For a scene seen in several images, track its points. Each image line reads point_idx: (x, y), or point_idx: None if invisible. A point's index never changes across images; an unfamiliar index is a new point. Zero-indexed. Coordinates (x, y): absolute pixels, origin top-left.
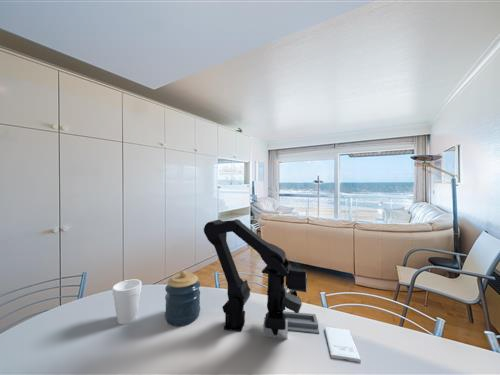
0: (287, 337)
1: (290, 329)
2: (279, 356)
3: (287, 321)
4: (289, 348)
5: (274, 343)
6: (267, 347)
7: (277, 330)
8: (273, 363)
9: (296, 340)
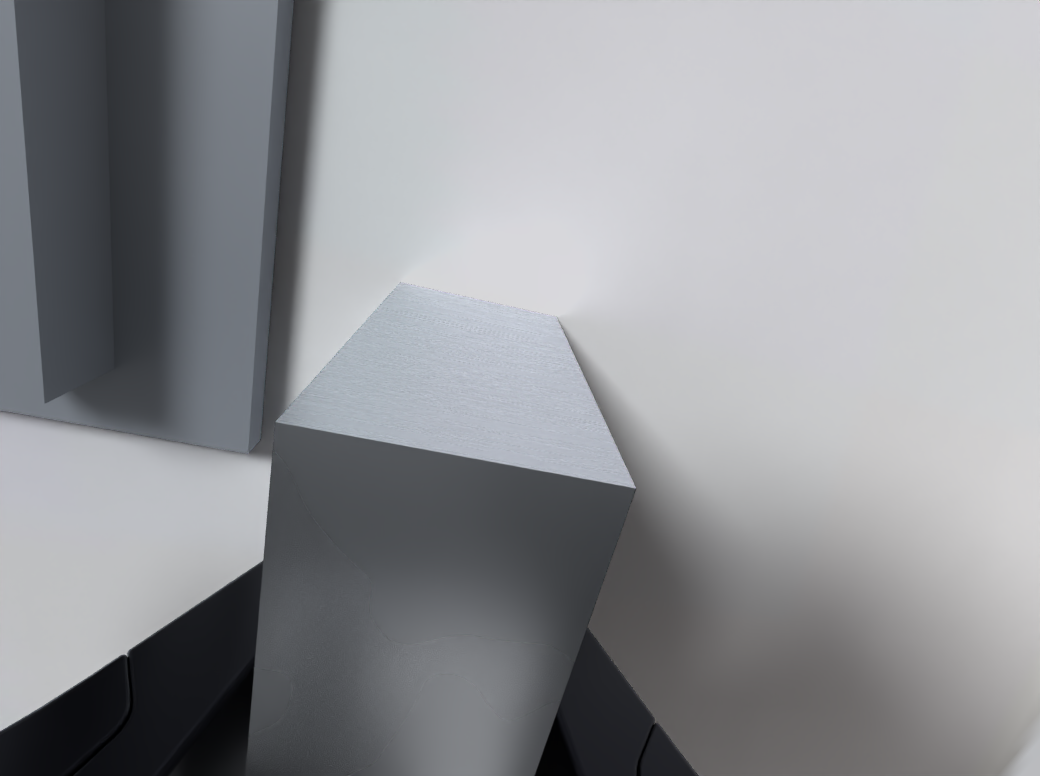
0: (559, 324)
1: (268, 167)
2: (913, 537)
3: (439, 453)
4: (807, 342)
5: (637, 565)
6: (699, 664)
7: (591, 652)
8: (992, 627)
9: (626, 115)
